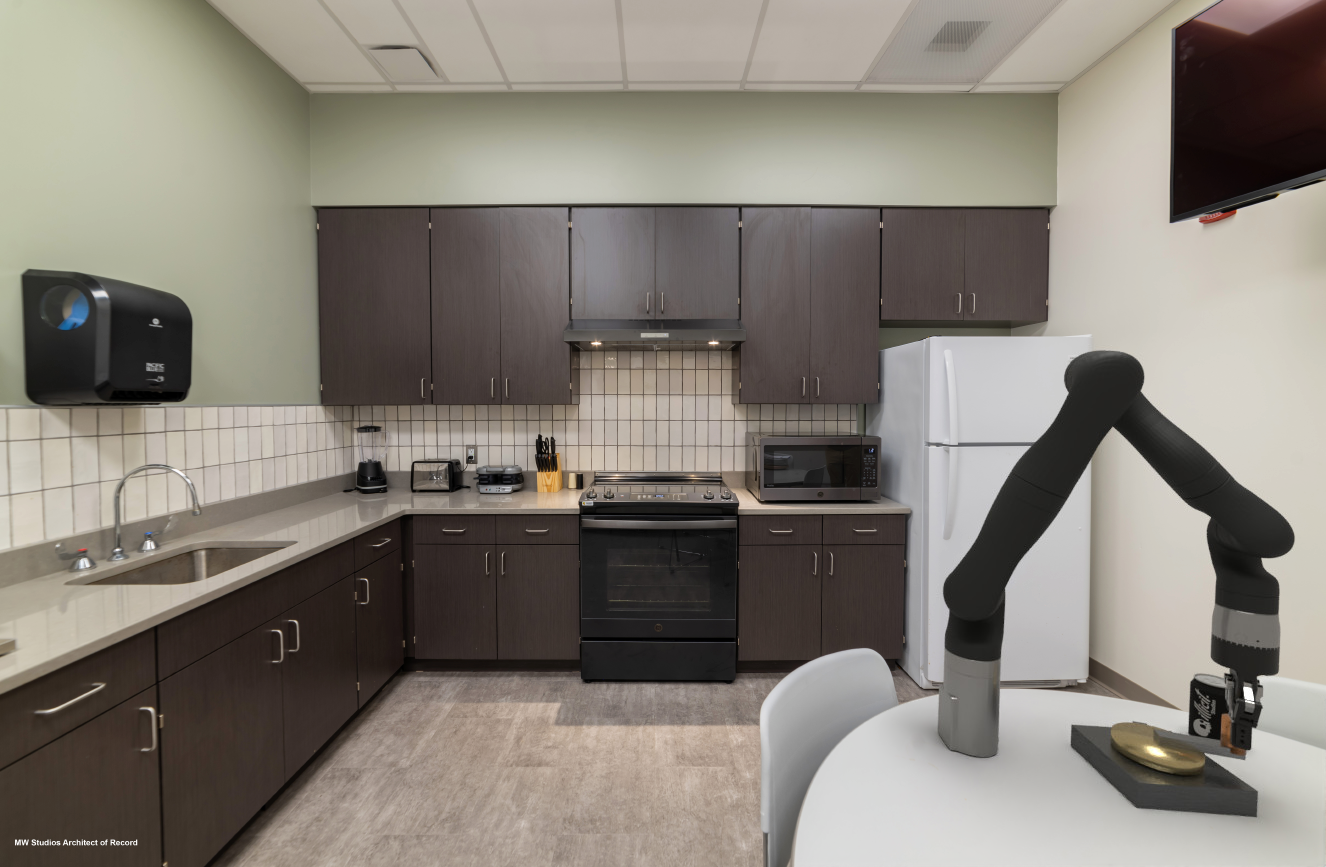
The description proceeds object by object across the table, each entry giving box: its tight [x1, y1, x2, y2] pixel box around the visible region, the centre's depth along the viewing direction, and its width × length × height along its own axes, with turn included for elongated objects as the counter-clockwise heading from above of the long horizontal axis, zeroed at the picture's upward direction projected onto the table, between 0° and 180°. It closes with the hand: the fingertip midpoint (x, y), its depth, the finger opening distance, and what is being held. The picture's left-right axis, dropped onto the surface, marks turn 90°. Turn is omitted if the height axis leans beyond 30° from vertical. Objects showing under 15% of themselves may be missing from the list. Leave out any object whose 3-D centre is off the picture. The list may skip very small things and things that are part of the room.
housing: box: [1070, 724, 1259, 818], centre depth 97 cm, size 17×17×4 cm
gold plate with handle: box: [1110, 714, 1248, 775], centre depth 96 cm, size 18×13×8 cm
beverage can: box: [1187, 672, 1229, 740], centre depth 108 cm, size 7×7×12 cm
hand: (1240, 746), depth 90 cm, fingers closed
